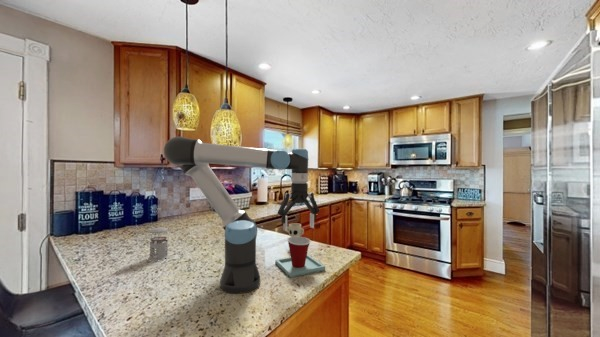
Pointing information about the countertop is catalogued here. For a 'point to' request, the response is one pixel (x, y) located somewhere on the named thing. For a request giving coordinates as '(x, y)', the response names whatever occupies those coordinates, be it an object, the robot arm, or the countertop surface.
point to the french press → (158, 244)
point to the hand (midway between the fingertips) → (298, 229)
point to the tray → (309, 268)
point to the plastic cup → (298, 250)
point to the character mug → (295, 230)
